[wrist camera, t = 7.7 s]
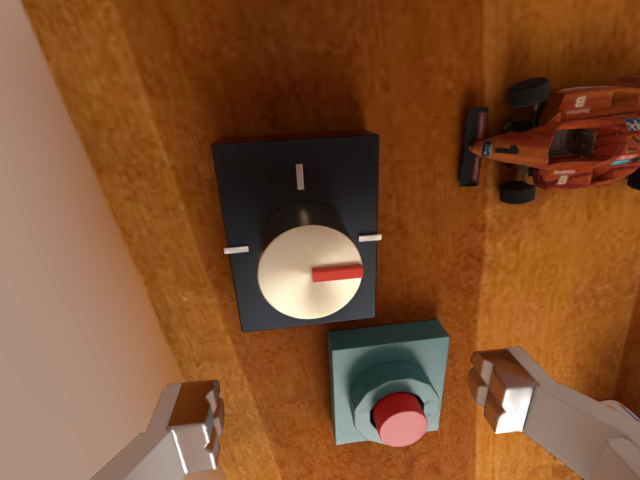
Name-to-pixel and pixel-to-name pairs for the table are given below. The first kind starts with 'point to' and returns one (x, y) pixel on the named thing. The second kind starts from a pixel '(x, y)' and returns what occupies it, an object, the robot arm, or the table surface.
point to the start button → (399, 419)
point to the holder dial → (307, 261)
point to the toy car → (561, 138)
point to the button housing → (384, 374)
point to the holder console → (290, 187)
